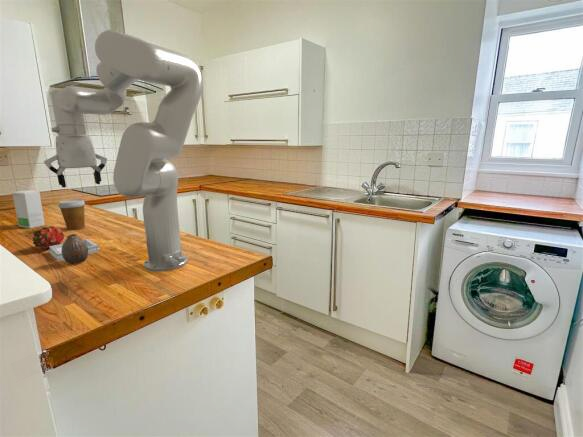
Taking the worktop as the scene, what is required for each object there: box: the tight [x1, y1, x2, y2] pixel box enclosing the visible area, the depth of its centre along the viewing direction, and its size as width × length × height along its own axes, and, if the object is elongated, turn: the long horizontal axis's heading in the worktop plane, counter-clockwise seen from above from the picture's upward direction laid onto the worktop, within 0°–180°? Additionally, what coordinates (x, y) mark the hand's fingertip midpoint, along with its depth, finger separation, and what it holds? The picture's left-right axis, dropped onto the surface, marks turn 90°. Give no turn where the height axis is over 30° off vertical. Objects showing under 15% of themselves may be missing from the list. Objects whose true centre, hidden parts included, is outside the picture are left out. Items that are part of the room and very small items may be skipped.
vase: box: [61, 233, 89, 265], centre depth 100 cm, size 7×7×9 cm
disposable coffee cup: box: [57, 198, 86, 231], centre depth 138 cm, size 10×10×12 cm
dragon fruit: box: [32, 225, 65, 251], centre depth 114 cm, size 8×8×12 cm
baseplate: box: [48, 238, 101, 262], centre depth 109 cm, size 12×12×2 cm
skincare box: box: [12, 189, 46, 229], centre depth 142 cm, size 8×7×16 cm
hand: (81, 185), depth 105 cm, fingers open, 9 cm apart
